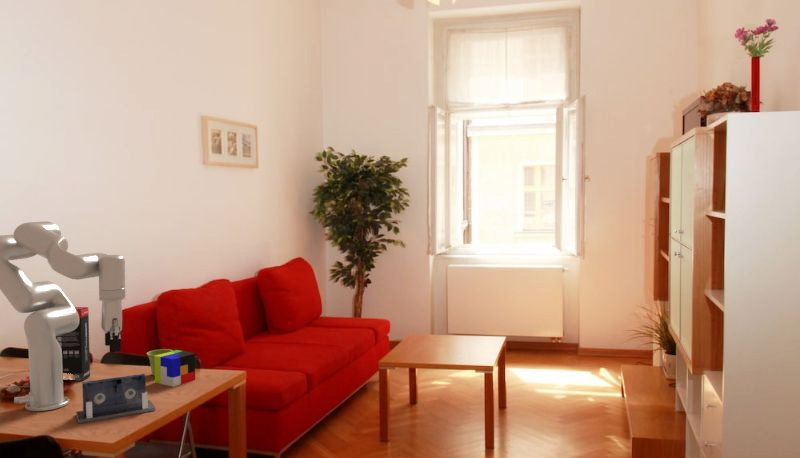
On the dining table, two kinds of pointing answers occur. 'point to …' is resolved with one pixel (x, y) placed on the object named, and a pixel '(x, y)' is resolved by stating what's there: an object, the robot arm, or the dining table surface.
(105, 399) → the vhs cassette tape
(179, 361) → the puzzle toy
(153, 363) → the plant pot
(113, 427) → the dining table surface
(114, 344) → the robot arm
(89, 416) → the rack
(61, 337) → the graphics card box
